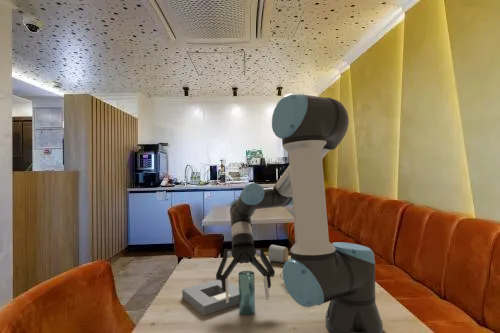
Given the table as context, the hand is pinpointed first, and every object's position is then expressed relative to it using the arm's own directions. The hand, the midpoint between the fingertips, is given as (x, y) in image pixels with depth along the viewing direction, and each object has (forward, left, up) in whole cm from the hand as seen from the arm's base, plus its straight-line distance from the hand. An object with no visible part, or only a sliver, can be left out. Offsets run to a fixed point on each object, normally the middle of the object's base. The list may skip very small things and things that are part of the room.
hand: (247, 299), depth 91 cm
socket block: (+16, +3, -5) cm, 17 cm away
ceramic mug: (+33, -43, -5) cm, 54 cm away
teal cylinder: (+2, -1, -5) cm, 6 cm away
